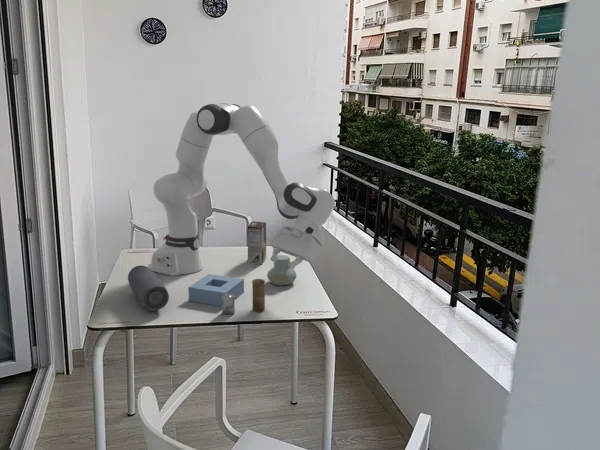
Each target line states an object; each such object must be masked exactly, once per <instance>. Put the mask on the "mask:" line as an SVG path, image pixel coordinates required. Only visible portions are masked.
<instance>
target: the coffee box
mask: <svg viewBox="0 0 600 450" xmlns="http://www.w3.org/2000/svg"><path fill="white" fill-rule="evenodd" d="M266 259H267V222H265V221H263V222H262V221H251V222H250V223H249V225H248V226H247V265H259V266H261V265H263V264H264V262H265V261H266Z"/></svg>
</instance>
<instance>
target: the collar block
mask: <svg viewBox="0 0 600 450" xmlns="http://www.w3.org/2000/svg"><path fill="white" fill-rule="evenodd" d="M187 288H188V301H189V302H195V303H200V304H206V305H211V306H212V305H213V306H217V307H218V306H219V307H222V295H223V294H227V293H230V294H234V301H235V300H237V298H239V297H240V296H241V295H243V294H244V293H245V279H244V278H238V277H232V276H225V275H219V274H218V275H217V274H213V273H211V274H210V273H208V274H207V275H205V276H204V277H202V278H200V279H199V280H197V281H195V283H193V284H191V285H189V286H188V287H187Z"/></svg>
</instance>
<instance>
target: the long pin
mask: <svg viewBox="0 0 600 450" xmlns="http://www.w3.org/2000/svg"><path fill="white" fill-rule="evenodd" d="M251 283H252V287H251V288H252V289H251V292H252V294H251V295H252V311H253V312H255V313H263V312H264V311H266V310H265V309H266V306H265V305H266V301H265V300H266V291H265V290H266V288H265V287H266V286H265V285H266V284H265V283H266V281H265V279H262V278H256V279H253V280H252V282H251Z"/></svg>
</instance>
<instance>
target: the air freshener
mask: <svg viewBox="0 0 600 450" xmlns="http://www.w3.org/2000/svg"><path fill="white" fill-rule="evenodd" d="M277 258H278V259H277V260H276V262H273V267H271V268H270V269H269V270H268V271H267V273H266V276H267V279H268V281H269V282H270V283H272V284H274V285H277V286H279V287H280V286H281V287H282V286H283V287H284V286H287V285H290V284H292V283H293V282H295V280H296V278H297V272H296V271H295V268H294V269H290V268H289V267H288V264H289V263H290V262H291V260H290V259H291V258H290V256H288V255H284V254H282V255H277Z"/></svg>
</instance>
